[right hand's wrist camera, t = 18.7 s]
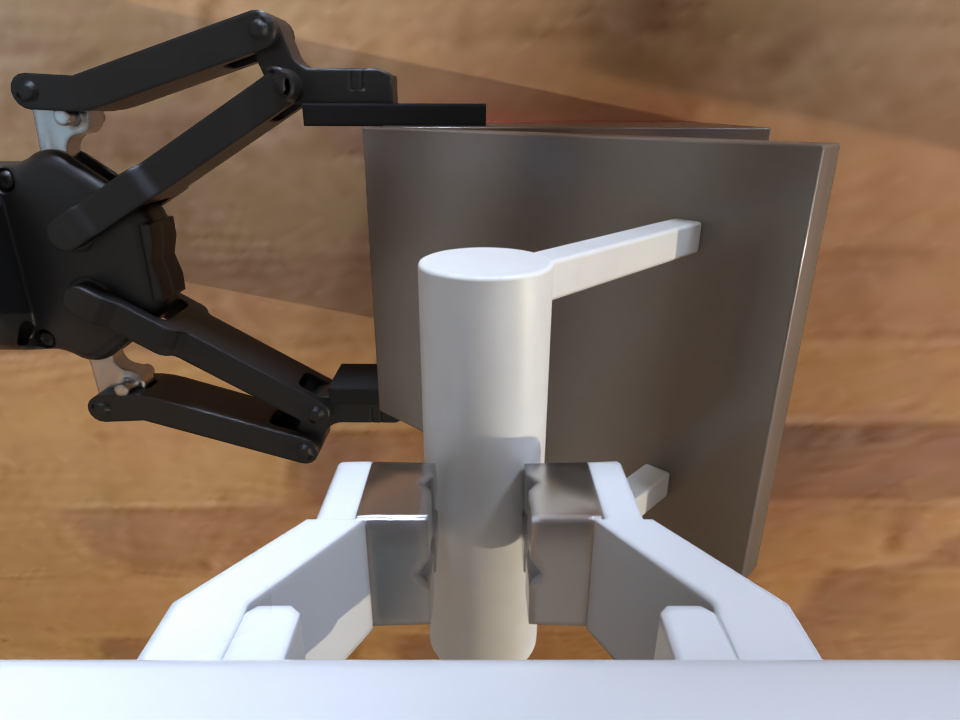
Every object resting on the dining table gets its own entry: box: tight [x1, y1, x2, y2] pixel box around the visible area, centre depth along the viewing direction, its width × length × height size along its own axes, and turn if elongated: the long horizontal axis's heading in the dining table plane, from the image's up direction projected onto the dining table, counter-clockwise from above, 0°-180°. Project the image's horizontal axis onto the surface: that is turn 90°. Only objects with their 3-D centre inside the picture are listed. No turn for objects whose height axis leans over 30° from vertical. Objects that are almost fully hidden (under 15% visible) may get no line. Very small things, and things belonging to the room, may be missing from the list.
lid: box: [363, 127, 840, 660], centre depth 16 cm, size 14×10×9 cm
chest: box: [380, 121, 771, 141], centre depth 28 cm, size 13×10×9 cm
